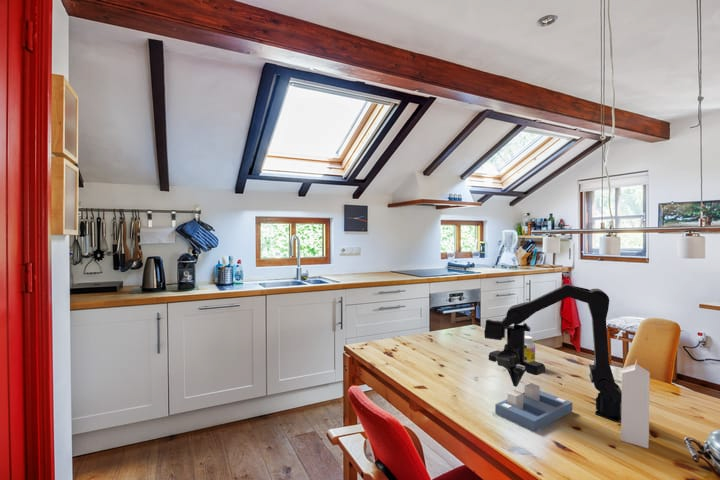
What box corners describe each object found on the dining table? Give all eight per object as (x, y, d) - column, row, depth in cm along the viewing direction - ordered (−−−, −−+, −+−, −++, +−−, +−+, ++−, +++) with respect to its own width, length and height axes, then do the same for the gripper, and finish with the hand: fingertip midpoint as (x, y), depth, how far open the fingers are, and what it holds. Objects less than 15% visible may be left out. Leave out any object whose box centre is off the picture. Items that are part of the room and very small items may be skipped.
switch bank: (572, 411, 118) (572, 401, 118) (534, 431, 106) (534, 420, 106) (534, 396, 129) (534, 387, 129) (495, 413, 116) (495, 403, 116)
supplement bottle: (533, 370, 154) (533, 340, 154) (516, 366, 158) (516, 337, 158) (536, 365, 160) (536, 336, 160) (520, 362, 164) (520, 334, 164)
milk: (648, 439, 102) (650, 361, 102) (648, 449, 97) (650, 366, 97) (622, 431, 106) (623, 356, 106) (620, 440, 101) (622, 361, 101)
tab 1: (523, 408, 117) (523, 393, 117) (515, 412, 115) (516, 396, 115) (514, 405, 119) (514, 390, 119) (507, 408, 117) (507, 392, 117)
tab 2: (539, 400, 123) (539, 386, 123) (532, 403, 121) (533, 388, 121) (531, 397, 125) (531, 383, 125) (524, 400, 123) (524, 385, 123)
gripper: (478, 339, 131) (478, 382, 131) (527, 353, 116) (527, 401, 116) (497, 334, 137) (497, 375, 138) (546, 347, 122) (546, 393, 122)
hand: (515, 386), depth 128 cm, fingers closed
